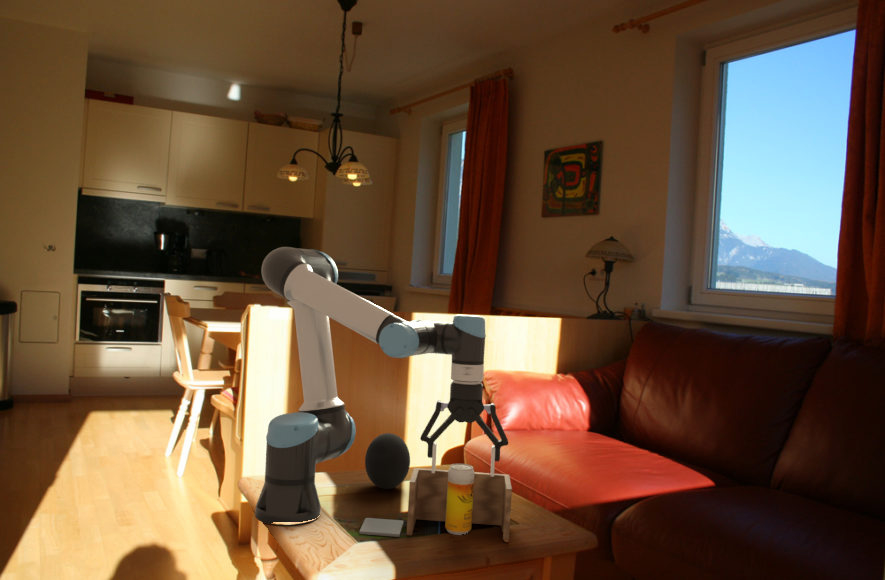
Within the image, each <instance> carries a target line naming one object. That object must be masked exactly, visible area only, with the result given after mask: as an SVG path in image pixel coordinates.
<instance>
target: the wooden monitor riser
mask: <svg viewBox="0 0 885 580" xmlns="http://www.w3.org/2000/svg"><path fill="white" fill-rule="evenodd" d="M448 470H449V469H448ZM448 470H447V469H446V470H445V469H436V470H435V473H432V468H422V467H421V468H419V467H413V471H412V474H411V477H410V480H409V485H408V489H409V490H408V501H407V502H408V504H407V506H408V507H407V520H406V536H413V533H414V532H413V531H414V529H415V524H416V520H423V521H433V522H434V521H436V522H445V520H446V503H447V486H448ZM474 472H475V471H474ZM490 473H491V472H490ZM490 473H489V472H478V471H476V472H475V474H474V491H473V508H472V524H475V525H476V524H477V525H479V524H480V525H489V526H501V532H503V535H502V541H503V540H509V541H510V529H511V527H510V526H511V511H512V509H511V507H512V496H513V495H512V494H513V487H512V484H511V483H512V482H511V477H510V474H505V473H504V474H502V473H494V477H491V474H490Z"/></svg>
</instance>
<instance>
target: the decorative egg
mask: <svg viewBox="0 0 885 580" xmlns="http://www.w3.org/2000/svg"><path fill="white" fill-rule="evenodd" d="M408 447H409V446H408V445H407V443H406V441H404V439H402V437H400V435H397V434H394V433H391V432H385V433H381V434H380V435H379V434H378V436H375V438H374V439H373V440H372V441H371V442H370V444H369V445H368V447H367V449H366V453H365V456H364V465H365V472H366V475H367V477H368V479H369V480H370V481H371V483H372V484H374V485H375V486H376V487H377V488H380V489H384V490H391V489H394V488H396V487H398V486H400V485H401V484H402V483H403V482H404V480H405V479H406V477H407V476H408V473H409V470H410V465H411V456H410V455H411V454H410V450H409V448H408Z"/></svg>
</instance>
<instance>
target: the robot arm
mask: <svg viewBox="0 0 885 580" xmlns="http://www.w3.org/2000/svg"><path fill="white" fill-rule="evenodd" d="M260 272H261V277H262V281H263V282H264V284H265V286H267V288H268V289H270V290H271V291H272V292H273V293H275V294H277V295H279V296H281V297H283V298H284V299H286V302H287V303H286V304H287V305H289V306H290V307H291V308H292V309H293V311H294V312H293V313H294V321H295V328H296V329H295V330H296V340H297V341H296V342H297V349H298V357H299V358H298V360H299V367H300V376H301V384H302V393H303V403H302V404H301V406H300V407H299V409H298V411H296V412H292V413H289V412H288V413H284V414H279V415H277V416H275V417H273V418H272V419H271V420H270V422H269V423H268V427H267V434H266V437H265V438H266V451H265V452H266V453H265V472H264V483H263V486H262V488H261V490H260V491H261V492H260V494H259V497H258V498H257V499H258V500H257V502H256V504H255V513H254V514H255V515H254V517H255V519H257V520H258V521H259V522H262V523H264V524H266V525H272V524H271V523H273V522H303V521H308V520H312V519H315V518H317V517H318V516H319V515H320V516H321V508H322V507H321V505H322V504H321V502H320V499H319V493H318V490H317V487H316V483H315V482H316V465H317V464H319V463H322V462H325V461H328V460H331V459H336V458H338V457H340V456H341V455H344V454H345V453H346V452H347V451H348V450H349V449H350V448H351V447H352V445H353V444H354V441H355V439H356V438H355V437H356V432H357V430H356V424H355V420H354V418H353V417H352V416H350V413H349V412H348V411H346V407H345V405H346V404H345V402H343V401H342V400H341V399H340V398H339V396H338V388H337V380H336V379H337V378H336V371H335V370H336V369H335V362H334V361H335V360H334V353H333V345H332V344H333V343H332V335H331V333H332V332H331V326H330V325H331V324H330V319H331V320H334V321H335V322H337V323H340V324H341V325H342V326H343V327H345V328H346V327H347V328H348V329H349V330H352V331H354V332H355V333H358V334H359V335H361V336H363V337H364V338H366V339H367V340H370V341H372V342H374V343H375V344H377V345H379V346H380V349H381V350H382V351H383V353H384V354H385V355H386V356H387V357H390V358H395V359H396V358H398V359H404V358H409V357H413V356H418V355H425V354H426V355H427V354H435V355H436V354H438V355H439V354H440V355H448V356H449V355H451V366H450V367H451V368H450V379H451V380H452V381H451V382H450V392H449V401H448V402H445V401H442V400H439V399H438V400H437V401H436V404H435V409H434V412H433V414H432V416H431V418H430V419H429V421H428V423H427V424H426V426H425V428H424V430H423V432H422V434H421V436H420V438H419V439H420V441H422V442H425V443H426V444H427V457H428V458H430V459H431V469H432V473H435V470H437V469H436V466H437V442H435V441H436V440H437V439H438V438H440V436H441V435H442V434H443V433H444V432H445V431H446V430H447V429H448V427H450V426H451V424H453V423H454V421H456V422H458V423H468V424H472V423H474V422H476V424H477V425H478V426H479V427H480V429H482V431H483V432H484V434H485V435H486V436H487V437H488V440H490V441H491V443H492V444H493V445H491V451H490V452H491V454H490V455H491V456H490V457H491V458H490V474H491V477H494V474H495V463H496V462H500V459H501V448H502V447H504V446H506V447H507V446H508V445H509V440H508V438H507V435H506V433H505V430H504V428H503V426H502V424H501V421H500V419H499V417H498V414H497V412H496V411H497V410H496V404H495V403H493V402H491V403H490V404H484V403H483V394H484V393H483V392H484V391H483V390H484V385H483V383H482V382H484V371H485V369H484V368H485V367H484V366H485V349H486V348H485V346H486V345H485V344H486V337H487V334H486V319H485V318H484V317H483V316H481V315H476V314H475V315H474V314H472V315H471V314H470V315H469V314H456V315H454V316H453V318H452V319H453V320H452V322H443V321H433V320H432V321H431V320H424V319H422V320H420V319H418V320H410V321H408V320H405V319H403V318H401V317H399V316H397V315H395V314H394V313H392V312H390V311H388V310H387V309H384V308H383V307H381V306H379V305H376V304H374V303H373V302H371V301H370V300H367V299H366V298H363V297H362V296H360V295H358V294H356V293H355V292H352V291H350V290H348V289H346V288H345V287H342V286H341V285H339V284H337V283H338V280H339V271H338V267H337V265H336V262H335V261H334V259H333V258H332V257H331V256H330V255H329V254H327V253H325V252H323V251H319V250H317V249H313V248H311V249H309V248H308V249H307V248H300V247H299V248H297V247H291V246H281V247H278V248H276V249H273V250H271V251H270V252H269V253H268V254H267V255H266V256H265V258H264V259H263V261H262V265H261V271H260ZM445 409H447V410H448V411H449V413H450V415H449V416H447V418H446V419H445V420H444V421H443V423H442V424H441V425H440V426H439V427H437V429H436V430H435V431H434V432H433V433H432V434H431V435H430V432H431V430H432V429H433V427H434V424H436V421H437V419H438V417H439V416H440V414H441V412H444V411H445ZM484 411H486V412H487V414H488V415H490V417H491V420H492V422H493V424H494V426H495V428H496V431H497V433H498V435H499V437H500V439H498V438H497V436H496V435H495V433H494V432H493V431H492V429H491V428H490V427H489V426H488V425H487V424H486V422H485V421H484V419H483V417H481V414H482V413H483V412H484ZM429 435H430V436H429Z"/></svg>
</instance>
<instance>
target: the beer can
mask: <svg viewBox="0 0 885 580" xmlns="http://www.w3.org/2000/svg"><path fill="white" fill-rule="evenodd" d="M474 474H475V471H474V466H472V465H470V464H467V463H452V464H450V466H449V469H448V486H447V503H446V520H445V521H444V522H445V525H444V527H445V529H446V531H447V532H448V533H449V534H452V535H457V536H463V535H462V534H464V535H467V534H469V533H468V532H470V531H471V530H472V524H473V523H472V508H473V491H474ZM466 533H467V534H466Z"/></svg>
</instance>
